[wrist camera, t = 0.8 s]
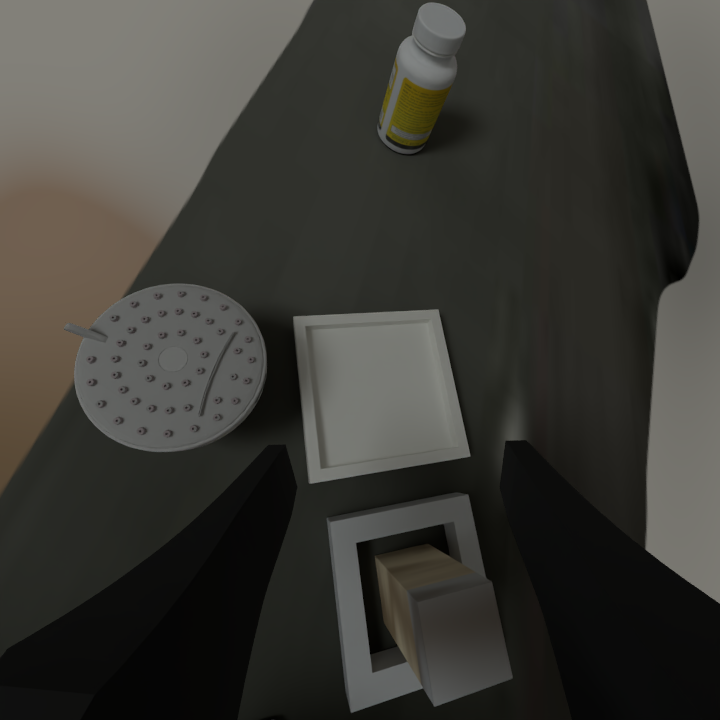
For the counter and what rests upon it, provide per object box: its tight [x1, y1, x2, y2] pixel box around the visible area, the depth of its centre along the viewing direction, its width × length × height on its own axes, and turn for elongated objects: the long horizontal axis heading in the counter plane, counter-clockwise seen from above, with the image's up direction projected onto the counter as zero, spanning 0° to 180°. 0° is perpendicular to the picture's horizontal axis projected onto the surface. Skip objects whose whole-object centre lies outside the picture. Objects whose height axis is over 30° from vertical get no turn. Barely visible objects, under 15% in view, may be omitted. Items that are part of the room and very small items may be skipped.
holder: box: [327, 492, 486, 713], centre depth 22 cm, size 10×10×2 cm
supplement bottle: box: [377, 3, 466, 154], centre depth 30 cm, size 5×5×10 cm
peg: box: [375, 543, 513, 707], centre depth 19 cm, size 4×4×8 cm
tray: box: [293, 310, 471, 484], centre depth 26 cm, size 12×12×2 cm
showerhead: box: [64, 284, 267, 452], centre depth 20 cm, size 9×7×10 cm
